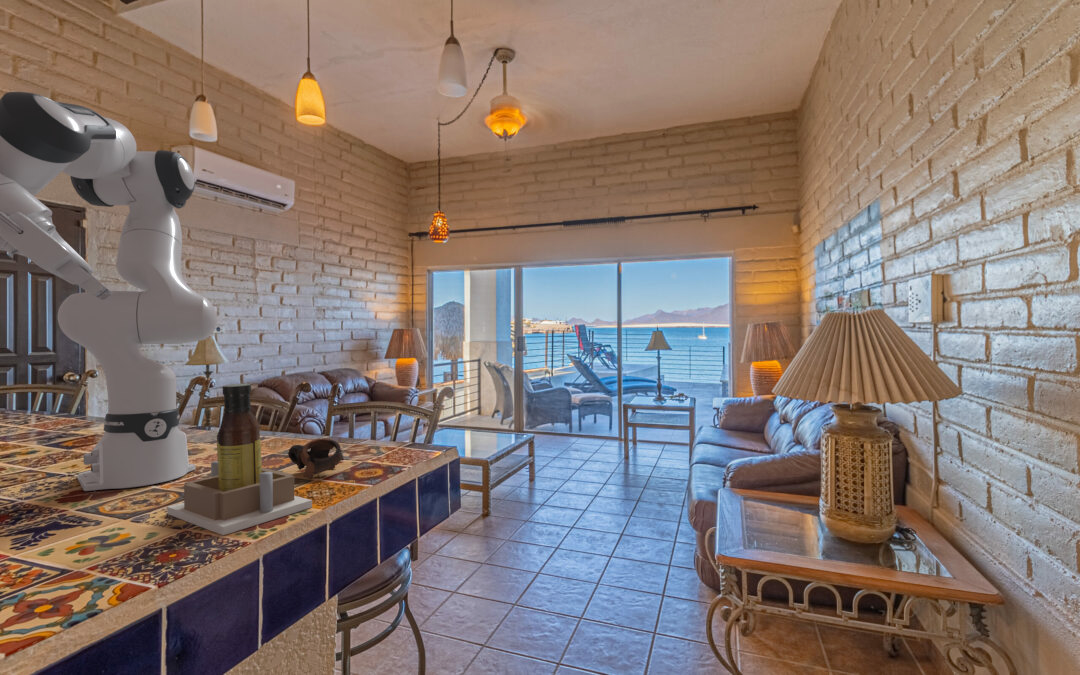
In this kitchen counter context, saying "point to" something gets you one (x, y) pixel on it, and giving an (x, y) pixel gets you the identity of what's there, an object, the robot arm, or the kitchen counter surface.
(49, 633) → the kitchen counter surface
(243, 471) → the sauce bottle
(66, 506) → the kitchen counter surface
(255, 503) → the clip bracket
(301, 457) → the pottery mug
